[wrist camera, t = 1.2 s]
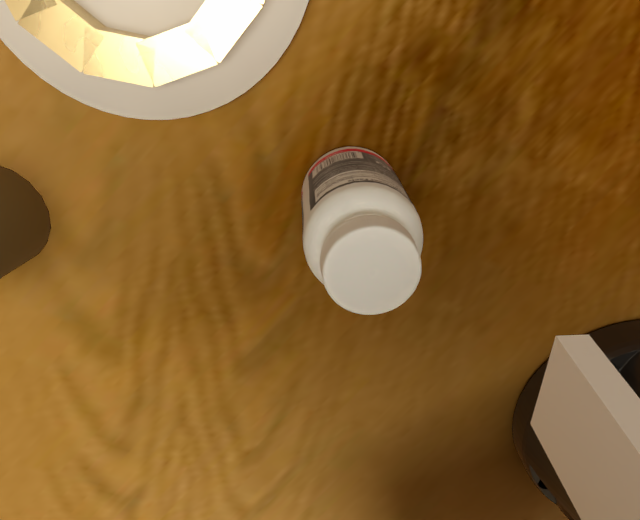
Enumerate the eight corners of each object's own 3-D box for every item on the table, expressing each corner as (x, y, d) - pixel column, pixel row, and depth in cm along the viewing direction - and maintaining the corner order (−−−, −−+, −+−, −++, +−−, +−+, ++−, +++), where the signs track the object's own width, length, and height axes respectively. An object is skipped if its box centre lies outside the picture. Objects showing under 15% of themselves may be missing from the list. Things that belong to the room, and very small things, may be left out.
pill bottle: (381, 245, 32) (413, 342, 23) (291, 225, 31) (288, 316, 22) (411, 157, 30) (459, 226, 21) (315, 132, 29) (323, 194, 20)
